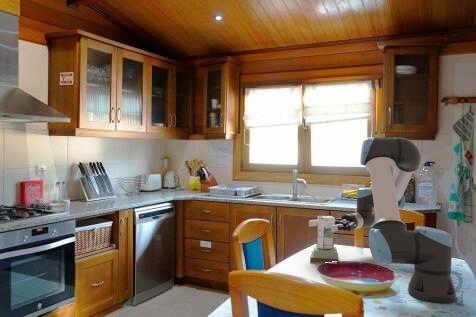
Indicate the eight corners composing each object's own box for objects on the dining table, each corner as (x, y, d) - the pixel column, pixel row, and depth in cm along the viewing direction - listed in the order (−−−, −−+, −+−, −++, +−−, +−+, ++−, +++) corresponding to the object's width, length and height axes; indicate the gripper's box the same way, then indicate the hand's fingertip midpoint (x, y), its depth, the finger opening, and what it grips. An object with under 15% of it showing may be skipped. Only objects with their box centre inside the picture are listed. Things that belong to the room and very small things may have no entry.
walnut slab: (337, 266, 175) (338, 259, 175) (310, 264, 178) (310, 257, 178) (338, 259, 187) (338, 253, 187) (312, 257, 190) (312, 250, 190)
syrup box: (326, 246, 186) (327, 215, 186) (334, 249, 180) (334, 216, 181) (316, 247, 184) (317, 215, 184) (323, 249, 178) (323, 216, 179)
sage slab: (337, 259, 176) (337, 252, 176) (314, 257, 178) (314, 251, 178) (335, 253, 186) (335, 246, 186) (313, 252, 188) (313, 245, 188)
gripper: (373, 234, 183) (342, 239, 170) (331, 225, 203) (300, 229, 191) (373, 217, 182) (342, 222, 170) (331, 210, 203) (301, 213, 191)
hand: (320, 226), depth 180 cm, fingers open, 13 cm apart
